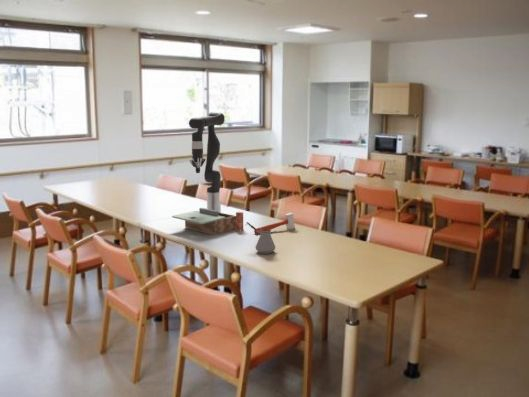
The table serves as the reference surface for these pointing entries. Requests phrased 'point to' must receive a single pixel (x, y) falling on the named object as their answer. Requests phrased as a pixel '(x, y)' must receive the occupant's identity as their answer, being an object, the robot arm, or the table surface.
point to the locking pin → (239, 221)
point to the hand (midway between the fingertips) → (197, 172)
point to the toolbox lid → (200, 216)
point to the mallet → (280, 223)
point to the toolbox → (214, 225)
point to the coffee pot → (264, 241)
